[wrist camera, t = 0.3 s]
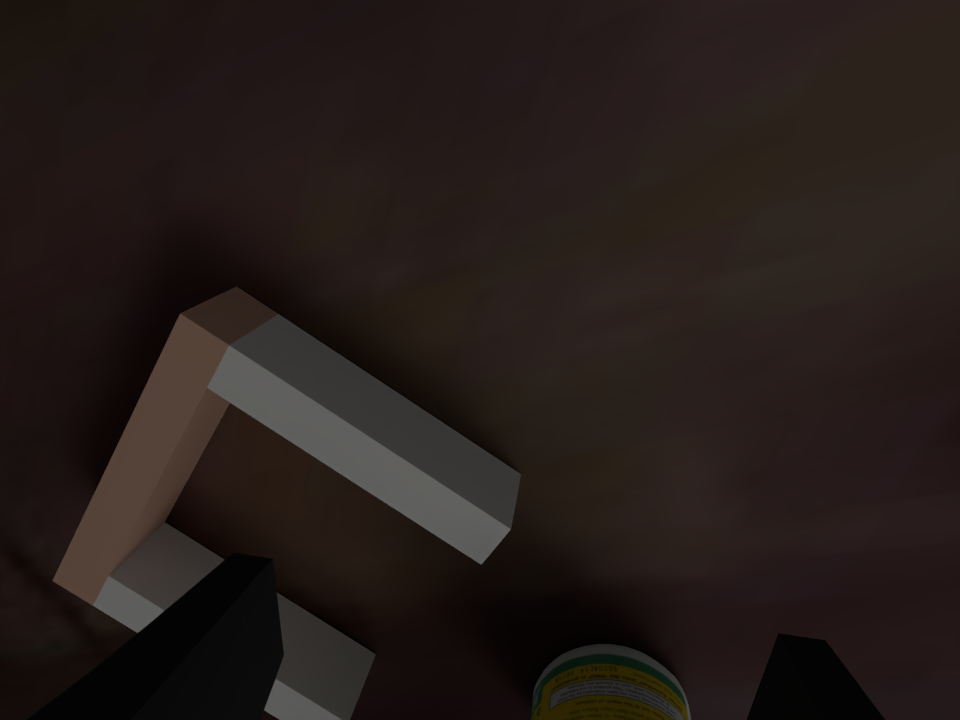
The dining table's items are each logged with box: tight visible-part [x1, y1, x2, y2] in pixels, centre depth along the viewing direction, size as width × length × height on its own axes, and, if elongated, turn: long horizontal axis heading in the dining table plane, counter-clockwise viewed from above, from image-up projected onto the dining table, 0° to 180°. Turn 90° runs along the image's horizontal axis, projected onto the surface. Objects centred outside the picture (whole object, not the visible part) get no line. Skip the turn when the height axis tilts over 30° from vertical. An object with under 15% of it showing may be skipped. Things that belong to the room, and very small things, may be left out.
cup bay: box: [53, 286, 521, 720], centre depth 21 cm, size 11×10×3 cm
